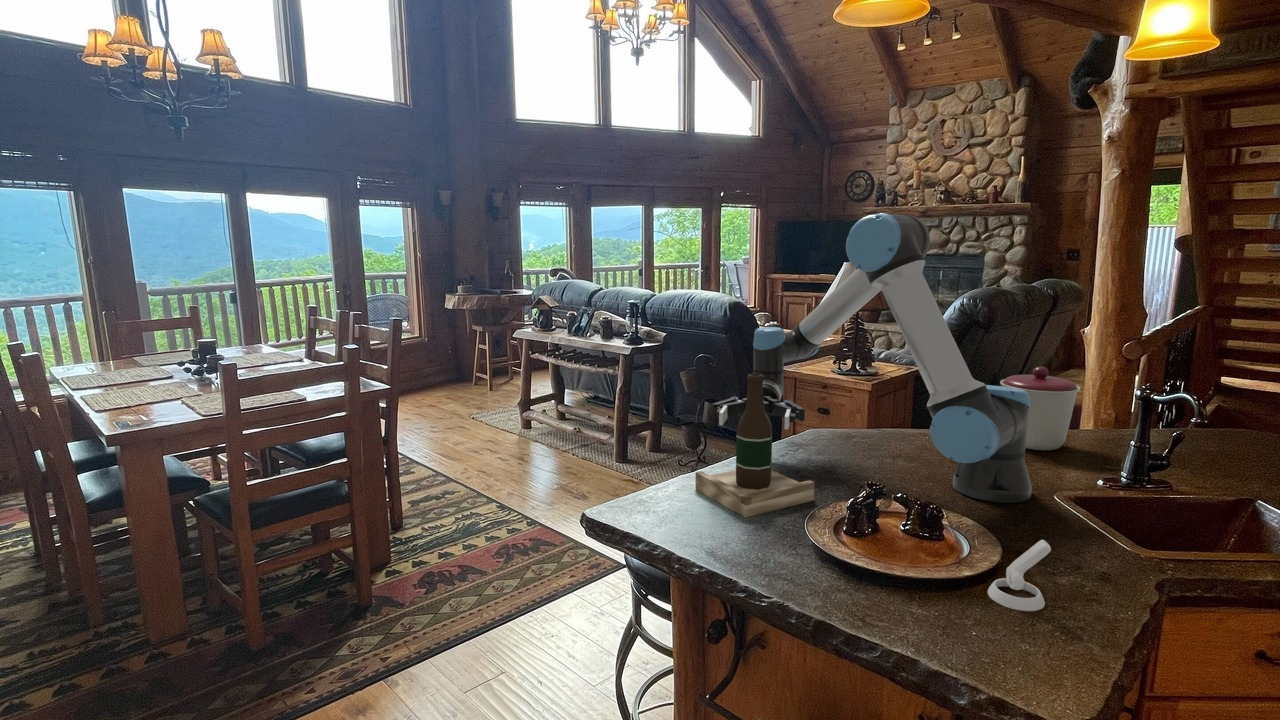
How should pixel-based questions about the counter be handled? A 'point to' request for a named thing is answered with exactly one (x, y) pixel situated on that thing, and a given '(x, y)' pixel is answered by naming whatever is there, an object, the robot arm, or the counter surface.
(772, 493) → the wooden tray
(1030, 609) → the white ring with handle
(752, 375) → the beer bottle
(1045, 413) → the canister
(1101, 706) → the counter surface
